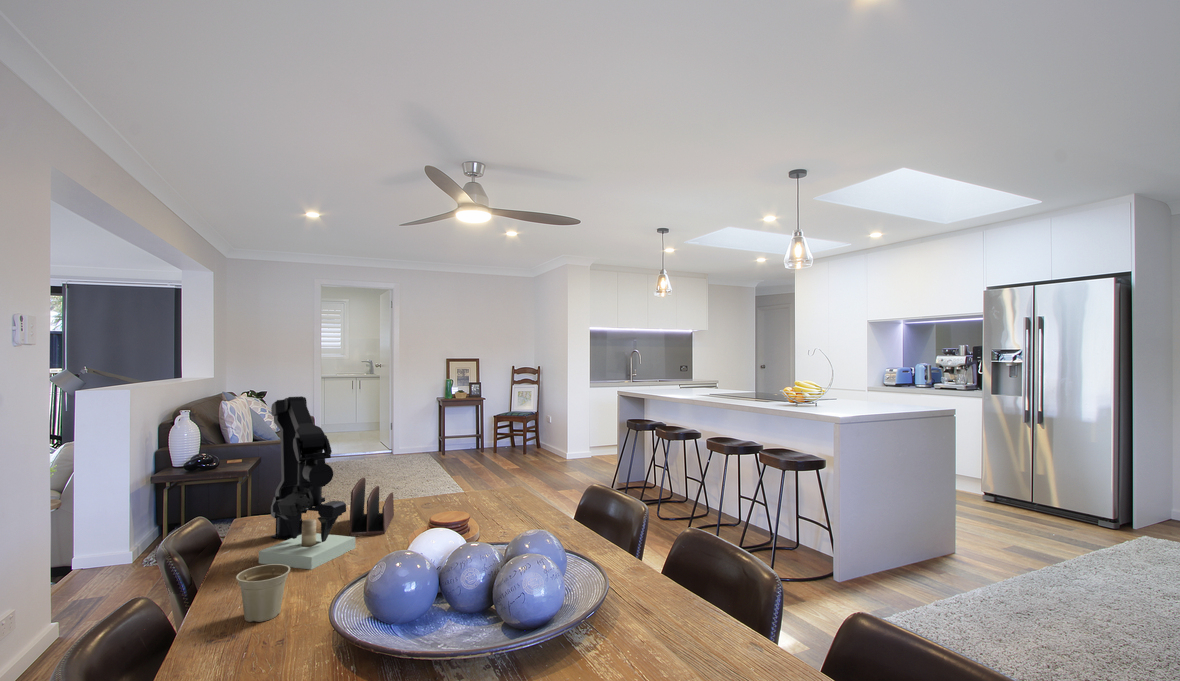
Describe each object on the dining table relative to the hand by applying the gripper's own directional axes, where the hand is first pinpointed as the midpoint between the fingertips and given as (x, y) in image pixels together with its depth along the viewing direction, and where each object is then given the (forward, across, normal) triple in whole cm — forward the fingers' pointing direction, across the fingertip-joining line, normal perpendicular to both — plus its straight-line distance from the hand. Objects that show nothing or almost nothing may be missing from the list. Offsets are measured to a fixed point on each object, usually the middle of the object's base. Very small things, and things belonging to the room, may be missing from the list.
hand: (309, 539), depth 147 cm
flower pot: (+4, +17, -31) cm, 36 cm away
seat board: (+4, 0, 0) cm, 4 cm away
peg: (+4, 0, 0) cm, 4 cm away
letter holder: (+4, -1, +27) cm, 28 cm away
